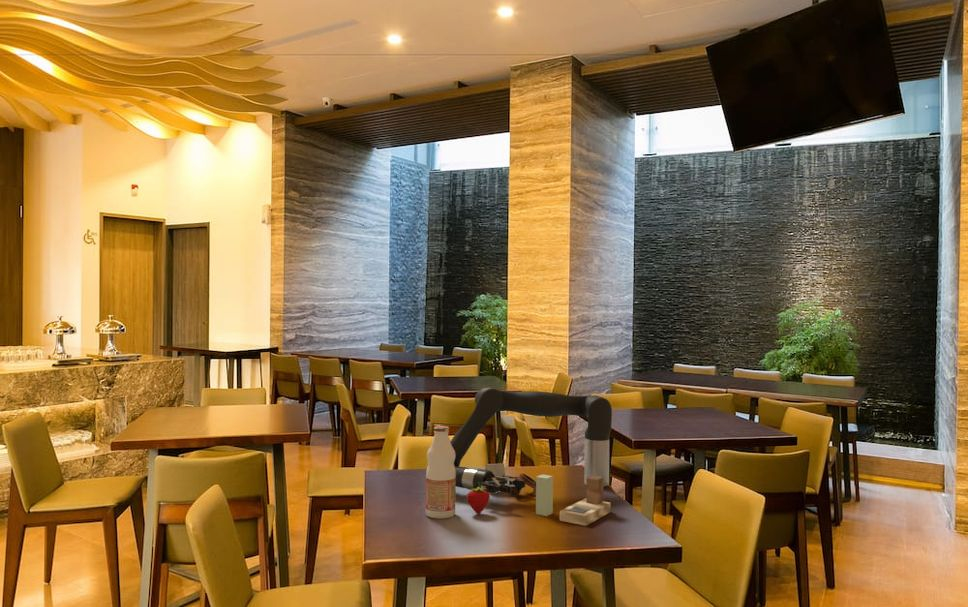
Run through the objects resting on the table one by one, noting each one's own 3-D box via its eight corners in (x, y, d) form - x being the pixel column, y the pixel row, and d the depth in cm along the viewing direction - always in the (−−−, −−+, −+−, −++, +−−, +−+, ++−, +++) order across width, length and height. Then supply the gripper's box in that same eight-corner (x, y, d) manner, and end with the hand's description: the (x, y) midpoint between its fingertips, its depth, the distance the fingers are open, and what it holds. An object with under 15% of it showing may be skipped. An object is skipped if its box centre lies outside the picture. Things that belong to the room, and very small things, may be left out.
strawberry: (464, 512, 222) (464, 481, 222) (486, 510, 224) (487, 479, 224) (469, 517, 216) (469, 485, 216) (491, 515, 218) (492, 484, 218)
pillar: (542, 511, 224) (542, 474, 224) (552, 513, 222) (553, 476, 222) (535, 514, 221) (536, 476, 221) (546, 516, 218) (546, 478, 218)
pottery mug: (511, 491, 251) (522, 471, 251) (532, 506, 246) (543, 486, 247) (499, 490, 240) (511, 469, 240) (521, 505, 236) (533, 485, 236)
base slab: (585, 507, 229) (585, 474, 229) (610, 512, 223) (610, 478, 224) (559, 520, 214) (559, 485, 214) (585, 525, 209) (586, 489, 209)
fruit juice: (433, 521, 212) (434, 430, 213) (421, 513, 220) (421, 425, 221) (460, 516, 217) (461, 428, 217) (447, 509, 225) (448, 423, 225)
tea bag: (505, 492, 247) (505, 464, 247) (487, 493, 245) (487, 465, 245) (502, 489, 250) (502, 462, 250) (484, 491, 249) (484, 463, 249)
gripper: (465, 473, 230) (506, 480, 221) (489, 465, 242) (529, 471, 233) (465, 495, 230) (506, 503, 221) (489, 486, 242) (529, 494, 233)
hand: (517, 487), depth 227 cm, fingers open, 8 cm apart
